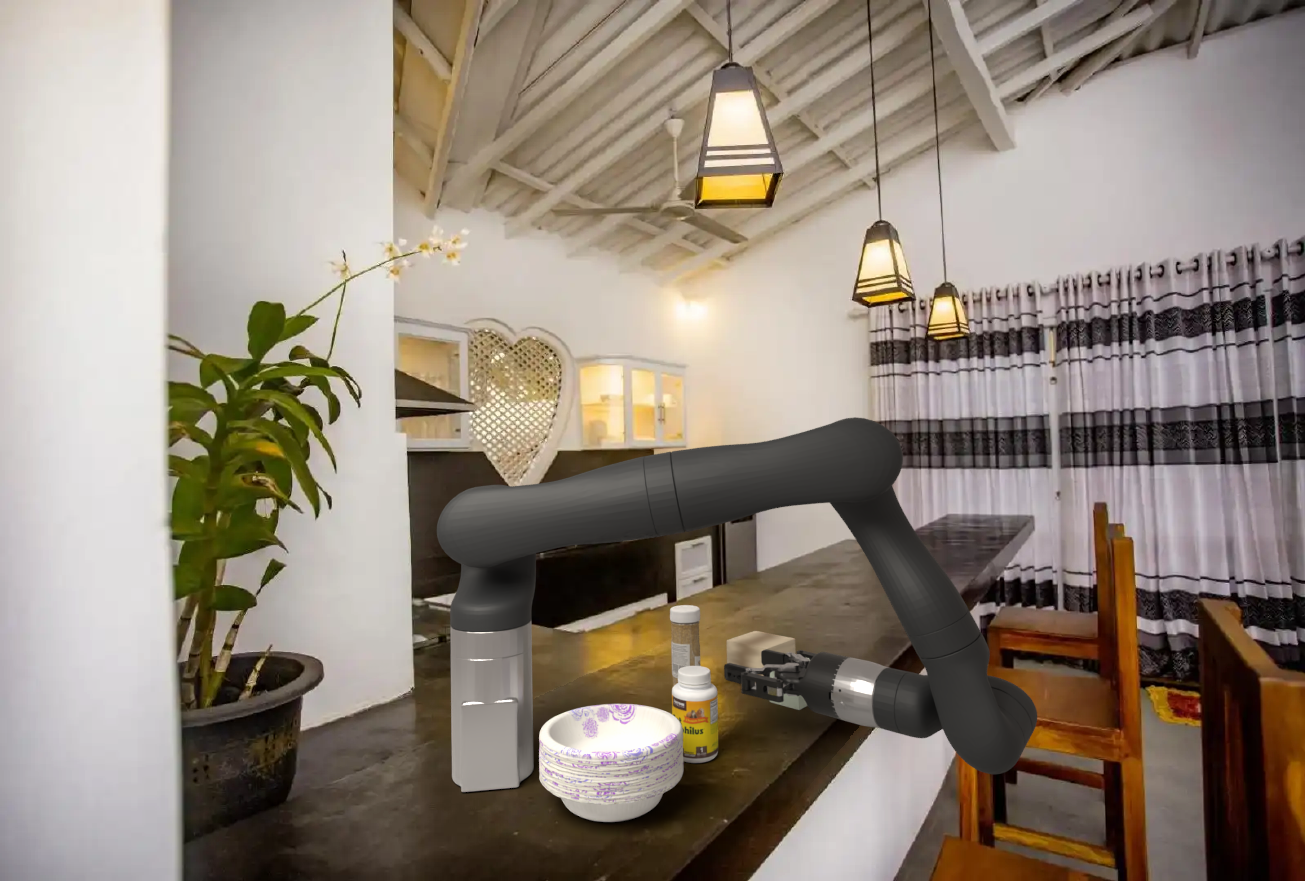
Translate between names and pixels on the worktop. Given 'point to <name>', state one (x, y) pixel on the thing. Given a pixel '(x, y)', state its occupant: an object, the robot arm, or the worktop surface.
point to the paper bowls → (611, 759)
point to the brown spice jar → (684, 638)
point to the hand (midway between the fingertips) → (744, 663)
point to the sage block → (791, 699)
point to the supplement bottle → (696, 713)
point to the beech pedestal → (756, 648)
